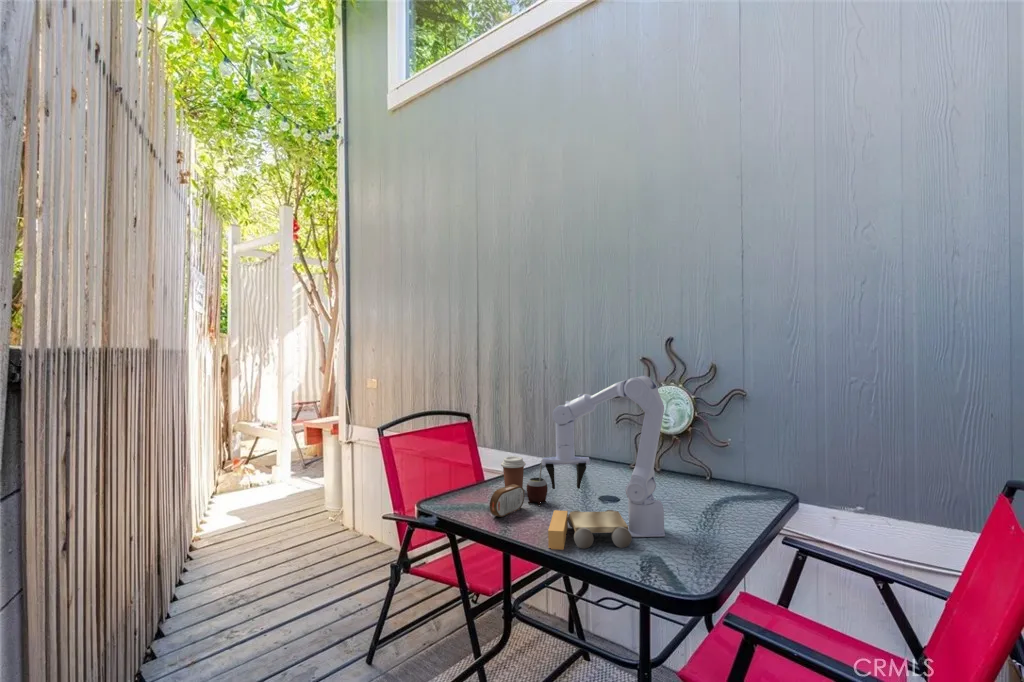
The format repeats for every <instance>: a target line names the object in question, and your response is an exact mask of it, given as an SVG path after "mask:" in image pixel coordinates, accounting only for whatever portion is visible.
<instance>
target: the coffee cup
mask: <svg viewBox="0 0 1024 682" xmlns="http://www.w3.org/2000/svg"><path fill="white" fill-rule="evenodd" d="M526 464H527V463H526V461H524V459H523V457H522V456H515V455H514V456H512V455H511V456H506V457H504V458H503V461H502V462H500V466H501V467H502V471H503V479H504V480H503V481H504V487H506V486H509V485H512V484H516V485H518V486H521V487H522V488H523V487H524V473H525V472H524V469H525V468H524V467H525V466H526ZM523 489H524V488H523Z"/></svg>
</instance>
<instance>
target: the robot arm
mask: <svg viewBox="0 0 1024 682" xmlns="http://www.w3.org/2000/svg"><path fill="white" fill-rule="evenodd" d="M616 397H621V398H624V397H627V398H629V399H630V400H631V401H633V402H634V403H635V404H638V406H639V407H640V408H641V410H642V411H643V412H644V417H643V422H642V428H641V432H640V438H639V443H638V450H637V454H636V460H635V465H634V468H633V470H632V473H631V476H630V480H629V482H628V483H627V484H626V485H625V489H624V490H625V494H626V497H627V498H628V499H627V503H628V504H627V507H628V509H627V511H628V524H627V526H628V531H629V532H630V534H631V537H632V538H646V537H648V538H649V537H650V538H652V537H653V538H654V537H656V538H657V537H659V538H661V537H665V536H666V534H665V509H664V506H663V503H662V500H659V499H655V497H654V495H653V493H655V491H656V488H657V484H656V480H655V474H656V472H655V469H654V467H655V463H656V457H657V452H658V447H659V446H658V444H659V441H660V435H661V430H662V425H663V419H664V413H665V405H664V403H663V400H662V397H661V395H660V393H659V387H658V384H657V383H656V382H655V381H654V380H653V379H652V377H650V376H647V375H639V376H637V377H635V376H634V377H631V378H629V379H624V380H622V381H617V382H615V383H614V384H611V385H610V386H608V387H606V388H604V389H602V390H600V391H598V392H597V393H594V394H593V395H591V394H589V393H579V394H577V398H574V399H572V400H566V401H565V402H564V403H565V404H561V405H557V406H555V408H553V411H552V414H551V418H552V420H553V422H554V423H555V456H551V457H550V456H549V457H544V458H543V457H542V458H541V460H542V466H545V468H546V471H547V473H548V475H549V477H550V482H551V488H552V490H555V489H556V484H555V465H556V466H557V465H559V466H560V465H563V466H564V465H576V488H577V489H581V484H582V479H583V478H584V477H583V476H584V474H585V473H586V471H587V465H590V457H589V456H575V455H576V453H575V452H576V451H575V448H576V447H575V421H576V420H578V419H579V418H583V417H584V416H586V415H589V414H591V413H594V412H595V410H596V408H597V406H598V405H599V404H602V403H605V402H607V401H608V400H611V399H614V398H616Z"/></svg>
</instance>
